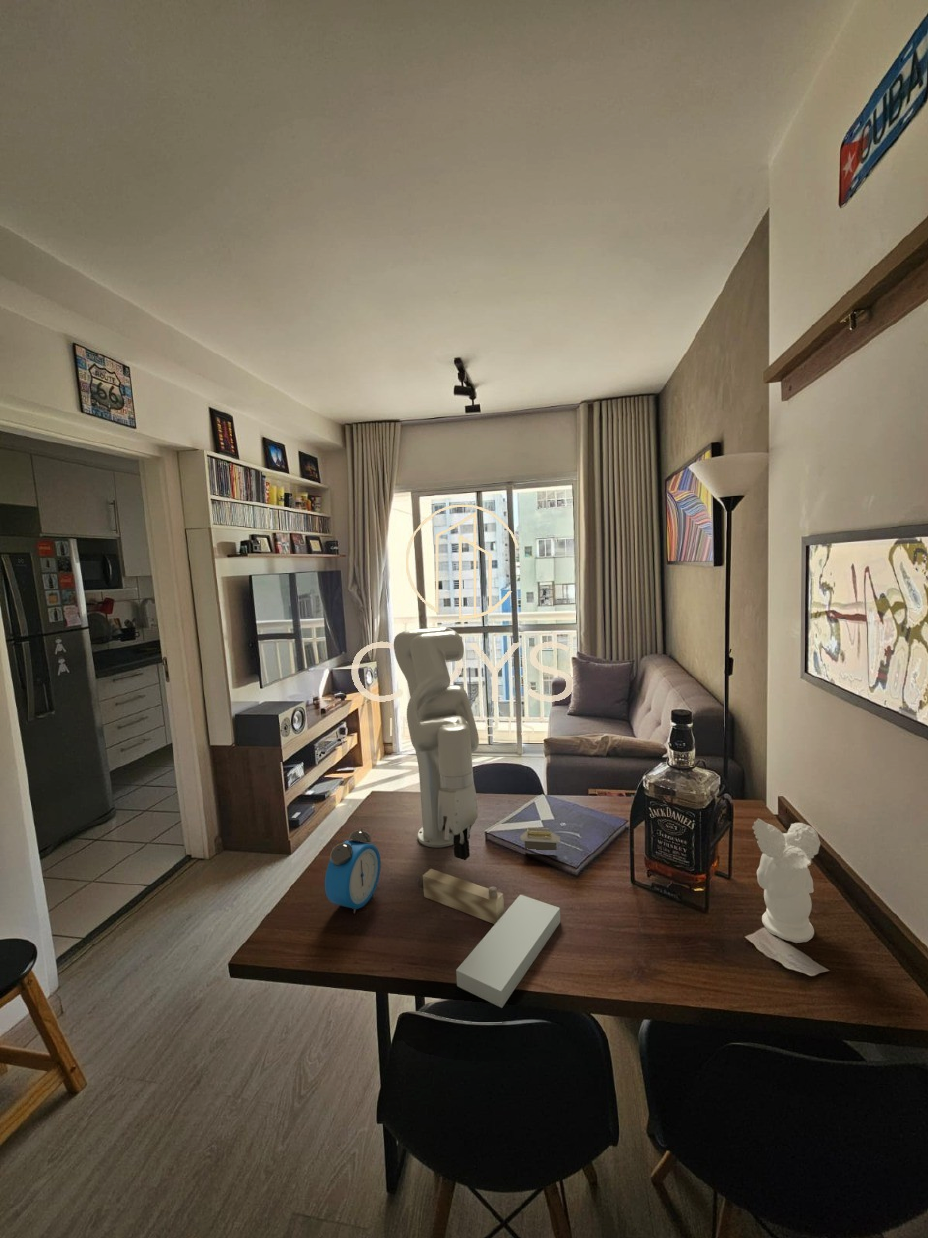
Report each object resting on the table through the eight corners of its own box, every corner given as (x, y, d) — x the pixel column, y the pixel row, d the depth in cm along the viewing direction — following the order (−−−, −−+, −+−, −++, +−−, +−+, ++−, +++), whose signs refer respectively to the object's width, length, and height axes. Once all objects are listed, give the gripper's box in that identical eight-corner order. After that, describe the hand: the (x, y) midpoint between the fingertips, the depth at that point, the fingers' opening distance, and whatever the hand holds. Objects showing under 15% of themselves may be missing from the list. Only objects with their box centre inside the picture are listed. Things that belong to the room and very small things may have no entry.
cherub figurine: (807, 915, 104) (811, 809, 101) (841, 962, 91) (846, 843, 89) (742, 910, 106) (744, 807, 103) (766, 955, 93) (769, 839, 91)
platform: (508, 840, 139) (507, 817, 138) (577, 844, 135) (576, 820, 134) (502, 865, 127) (501, 840, 126) (577, 871, 123) (576, 844, 123)
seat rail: (521, 907, 110) (520, 894, 110) (560, 922, 105) (559, 908, 105) (457, 986, 91) (456, 970, 90) (501, 1008, 86) (500, 991, 85)
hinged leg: (504, 916, 108) (503, 887, 107) (496, 925, 105) (495, 895, 104) (428, 887, 119) (426, 861, 118) (419, 895, 116) (417, 868, 116)
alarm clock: (349, 923, 109) (343, 855, 107) (325, 917, 111) (319, 850, 110) (383, 887, 120) (378, 825, 119) (361, 882, 123) (356, 821, 121)
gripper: (461, 766, 126) (466, 839, 127) (423, 788, 114) (429, 869, 115) (487, 770, 122) (492, 846, 123) (451, 793, 110) (457, 877, 111)
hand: (462, 857), depth 119 cm, fingers closed
